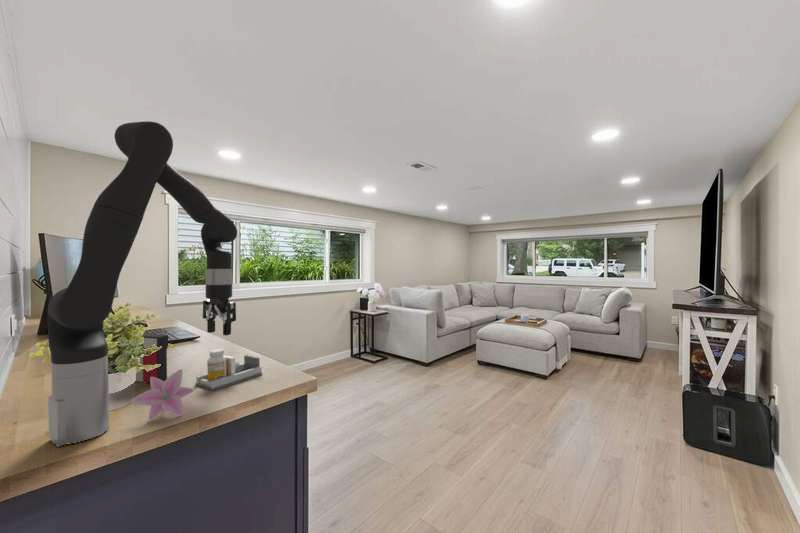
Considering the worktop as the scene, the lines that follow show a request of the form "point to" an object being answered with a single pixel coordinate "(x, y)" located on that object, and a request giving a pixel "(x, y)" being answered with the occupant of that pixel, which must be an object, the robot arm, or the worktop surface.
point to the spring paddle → (231, 365)
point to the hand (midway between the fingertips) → (218, 333)
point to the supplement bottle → (217, 365)
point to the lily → (164, 395)
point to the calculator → (154, 358)
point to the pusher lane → (243, 373)
